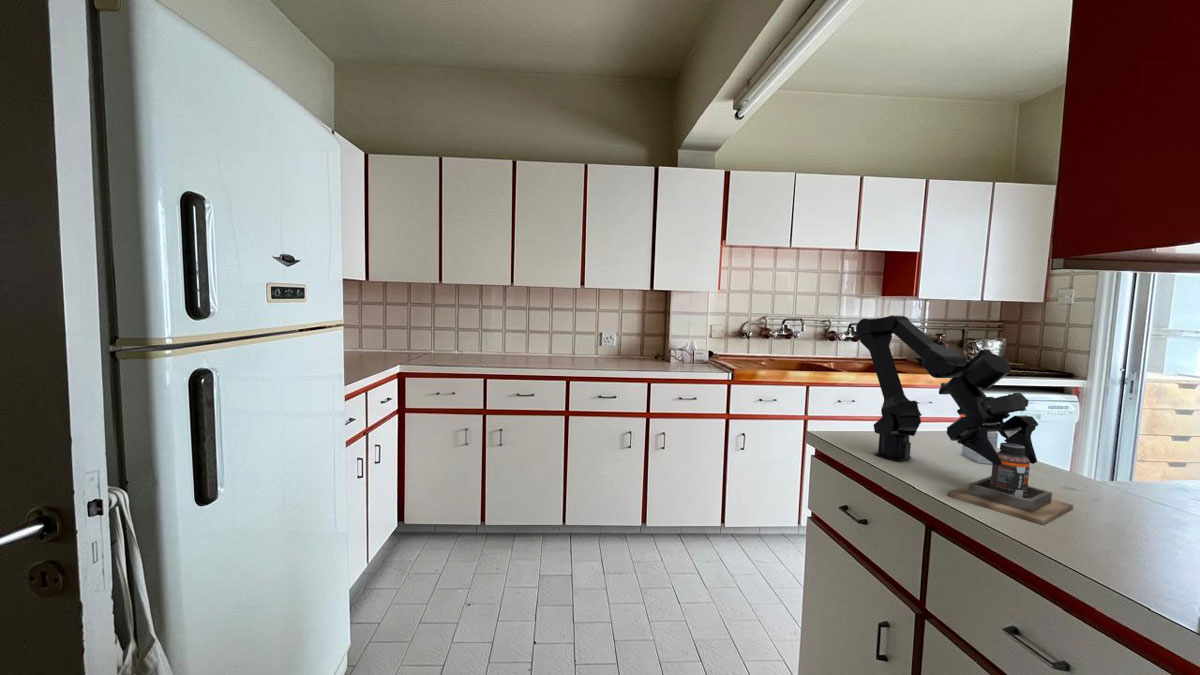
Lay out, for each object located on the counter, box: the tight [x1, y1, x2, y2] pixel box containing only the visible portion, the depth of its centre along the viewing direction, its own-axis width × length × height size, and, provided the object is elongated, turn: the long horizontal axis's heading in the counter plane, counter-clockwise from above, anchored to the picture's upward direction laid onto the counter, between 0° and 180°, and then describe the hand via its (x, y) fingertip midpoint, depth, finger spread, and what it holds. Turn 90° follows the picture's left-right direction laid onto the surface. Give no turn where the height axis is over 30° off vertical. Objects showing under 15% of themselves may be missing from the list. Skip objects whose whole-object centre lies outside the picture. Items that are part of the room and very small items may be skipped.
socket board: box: [947, 475, 1074, 526], centre depth 104 cm, size 16×16×3 cm
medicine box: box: [961, 432, 999, 465], centre depth 134 cm, size 8×4×9 cm, turn 170°
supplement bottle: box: [990, 442, 1031, 499], centre depth 104 cm, size 6×6×11 cm
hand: (1017, 463), depth 103 cm, fingers open, 9 cm apart
